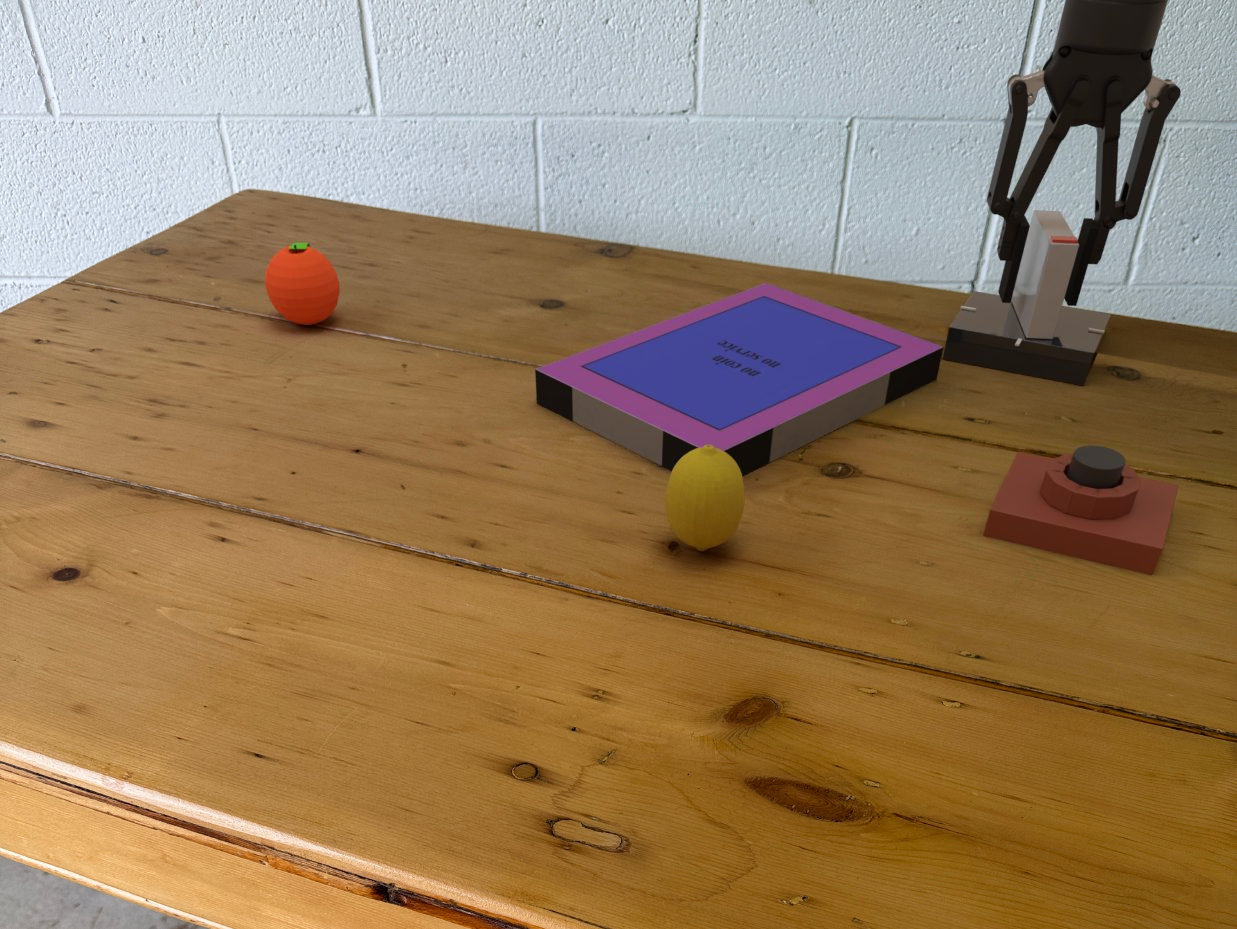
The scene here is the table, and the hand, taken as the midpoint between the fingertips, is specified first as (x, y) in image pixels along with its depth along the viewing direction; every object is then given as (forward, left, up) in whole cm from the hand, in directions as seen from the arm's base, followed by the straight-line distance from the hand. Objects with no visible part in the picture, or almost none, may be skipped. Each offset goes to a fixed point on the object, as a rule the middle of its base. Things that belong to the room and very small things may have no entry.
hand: (1036, 298), depth 102 cm
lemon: (+14, +46, -5) cm, 48 cm away
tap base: (0, 0, -5) cm, 5 cm away
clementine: (+65, +24, -5) cm, 69 cm away
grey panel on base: (0, 0, -2) cm, 2 cm away
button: (-10, +30, -1) cm, 32 cm away
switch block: (-10, +30, -5) cm, 32 cm away
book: (+21, +20, -5) cm, 29 cm away
